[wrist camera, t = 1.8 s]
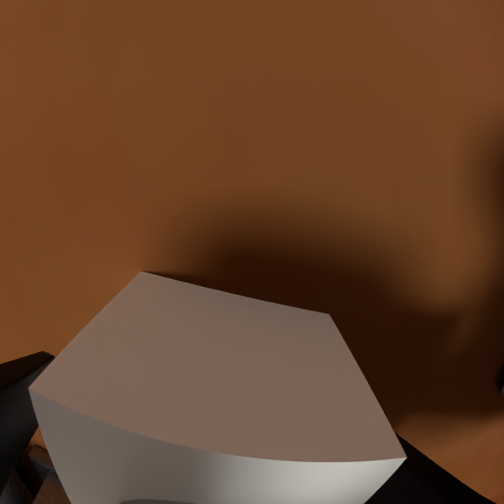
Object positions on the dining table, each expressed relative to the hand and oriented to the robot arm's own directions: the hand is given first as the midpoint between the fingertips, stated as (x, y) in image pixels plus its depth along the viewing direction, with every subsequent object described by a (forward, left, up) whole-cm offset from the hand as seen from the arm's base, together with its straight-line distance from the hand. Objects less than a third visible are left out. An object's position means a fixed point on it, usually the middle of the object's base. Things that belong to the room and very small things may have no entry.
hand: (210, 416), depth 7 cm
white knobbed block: (0, 0, -2) cm, 2 cm away
